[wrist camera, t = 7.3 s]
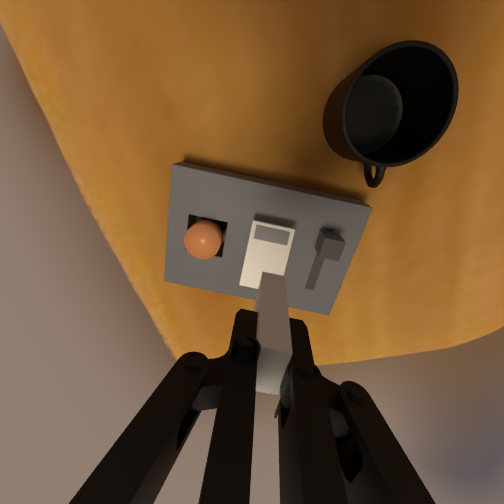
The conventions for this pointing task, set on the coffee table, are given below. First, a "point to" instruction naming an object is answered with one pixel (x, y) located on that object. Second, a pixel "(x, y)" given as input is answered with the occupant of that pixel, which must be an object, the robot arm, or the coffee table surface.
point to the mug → (392, 107)
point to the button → (203, 239)
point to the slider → (329, 245)
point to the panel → (239, 227)
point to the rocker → (266, 252)
